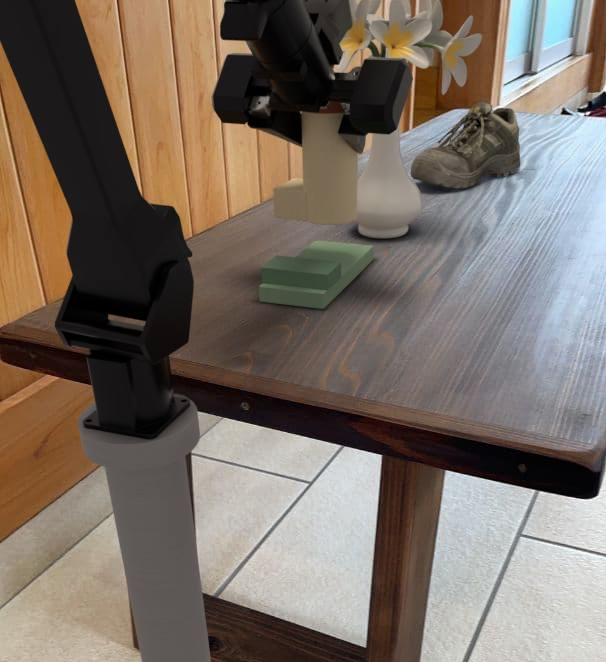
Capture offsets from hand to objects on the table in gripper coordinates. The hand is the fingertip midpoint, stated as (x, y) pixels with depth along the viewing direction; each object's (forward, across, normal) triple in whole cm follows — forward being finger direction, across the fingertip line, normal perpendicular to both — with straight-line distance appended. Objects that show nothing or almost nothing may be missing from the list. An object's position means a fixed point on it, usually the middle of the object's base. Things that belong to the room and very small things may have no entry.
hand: (335, 147), depth 87 cm
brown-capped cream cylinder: (+4, +1, +6) cm, 7 cm away
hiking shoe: (+40, 0, -22) cm, 46 cm away
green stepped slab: (+6, 0, +11) cm, 13 cm away
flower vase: (+20, 0, -2) cm, 20 cm away
